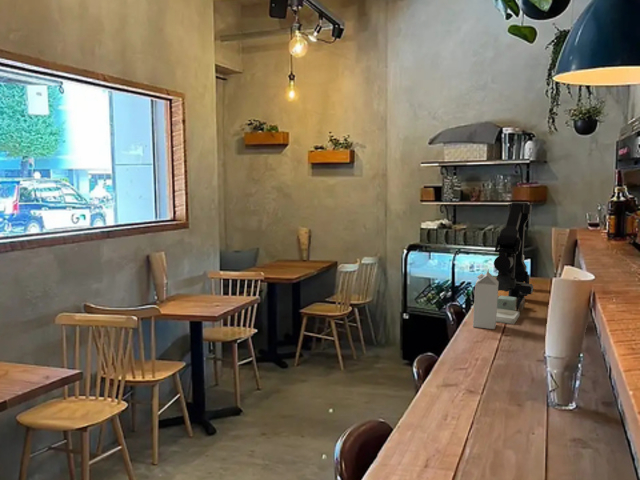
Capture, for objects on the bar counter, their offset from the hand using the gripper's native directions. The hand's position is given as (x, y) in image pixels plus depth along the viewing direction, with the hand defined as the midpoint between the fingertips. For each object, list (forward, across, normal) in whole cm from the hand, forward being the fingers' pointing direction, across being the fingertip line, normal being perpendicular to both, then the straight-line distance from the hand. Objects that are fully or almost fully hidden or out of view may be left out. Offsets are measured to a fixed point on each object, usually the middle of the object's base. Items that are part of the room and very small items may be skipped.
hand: (503, 309), depth 223 cm
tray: (+2, 0, -8) cm, 8 cm away
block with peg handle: (+2, 0, +4) cm, 4 cm away
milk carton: (+2, -3, -21) cm, 21 cm away
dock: (+1, 0, +11) cm, 11 cm away
